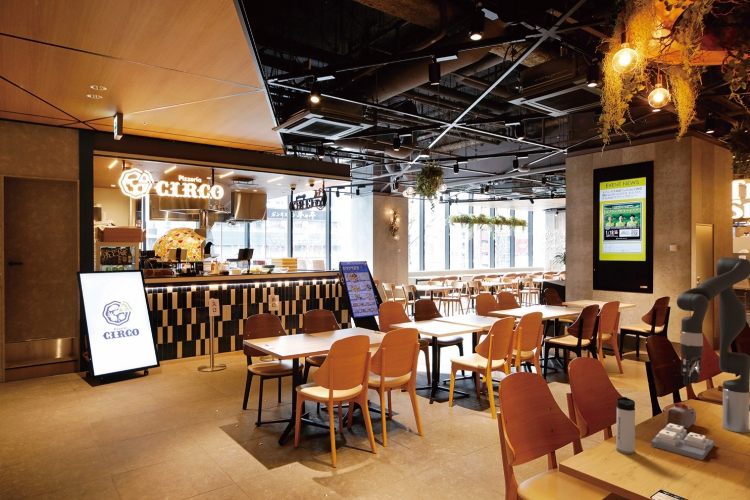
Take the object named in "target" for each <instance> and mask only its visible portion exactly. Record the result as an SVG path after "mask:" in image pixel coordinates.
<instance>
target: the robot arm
mask: <svg viewBox="0 0 750 500" xmlns="http://www.w3.org/2000/svg"><path fill="white" fill-rule="evenodd" d="M749 277H750V260H749V259H747V258H742V257H741V258H740V257H724V256H723V257H720V258H719V259H718V260H717V262H716V276H713V277H710V278H708V279H705V280H704V281H703V282H701V283H700V284H699V285H697V286H696V287H694V288H691V289H688V290H685V291H683V292H682V293H680V294H679V295H678V297H677V299H676V305H677V307H678V309H679V310H681V311H687V312H693V313H692V315H691V316H684V317H682V319H681V333H680V344H679V345H680V351H679V352H680V355H683V356H684V358H681V360H680V375H682V376H683V380H682V381H683V383H682V385H684V386H687V387H689V386H691V382H692V383H695V384H698V383H699V374H700V372H701V371H702V357H703V356H704V355H703V354H704V337H703V326H704V325H703V323H704V320H705V316H706V313H707V312H708V311H707V310H708V308H709V302H710V301H712V300H713V299H715V298H716V297H717V296H718V297H719V300H718V302H719V303H718V304H719V306H718V309H719V310H718V319H719V320H718V321H719V322H718V323H719V353H718V355H719V356H718V365H719V366H718V367H719V370H720V371H721V372H722V373H726V374H732V375H738V376H739V377H738V378H735V379H729V380H724V381H723V382H722V421H721V422H722V428H724V429H725V430H728V431H730V432H734V433H742V434H743V433H744V434H747V433H749V432H750V355H749V354H746V353H741V352H733V351H730V346H731V344H732V343H733V342H734V340H735V339H736V337H738V335H740V333H742V331H743V330H744V328H745V327H746V325H747V311H746V307H745V306H744V304H743V302H742V301H741V299H740V298H739V297H738V295H737V294H736V293H735V290H734V288H733V286H734V285H736V284H738V283H740V282H743V281H745V280H747V279H748V278H749Z"/></svg>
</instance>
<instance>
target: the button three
mask: <svg viewBox="0 0 750 500" xmlns="http://www.w3.org/2000/svg"><path fill="white" fill-rule="evenodd" d="M687 434H688V435H687V440H691V441H695V442H699V443H704V442H705V439H706V435H703V434H699V433H695V432H689V433H687Z"/></svg>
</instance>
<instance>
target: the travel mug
mask: <svg viewBox="0 0 750 500" xmlns="http://www.w3.org/2000/svg"><path fill="white" fill-rule="evenodd" d="M635 407H636V402H635V400H633V399H632V398H628V397H627V396H622V397H618V398H617V399H616V429H615V430H616V431H615V432H616V435H615V436H616V437H615V438H616V442H615V443H616V444H615V449H616V451H617V452H619V453H621V454H625V455H633V454H635V448H636V447H635V446H636V445H635V444H636V443H635V442H636V440H635V438H636V432H635V431H636V408H635Z"/></svg>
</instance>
